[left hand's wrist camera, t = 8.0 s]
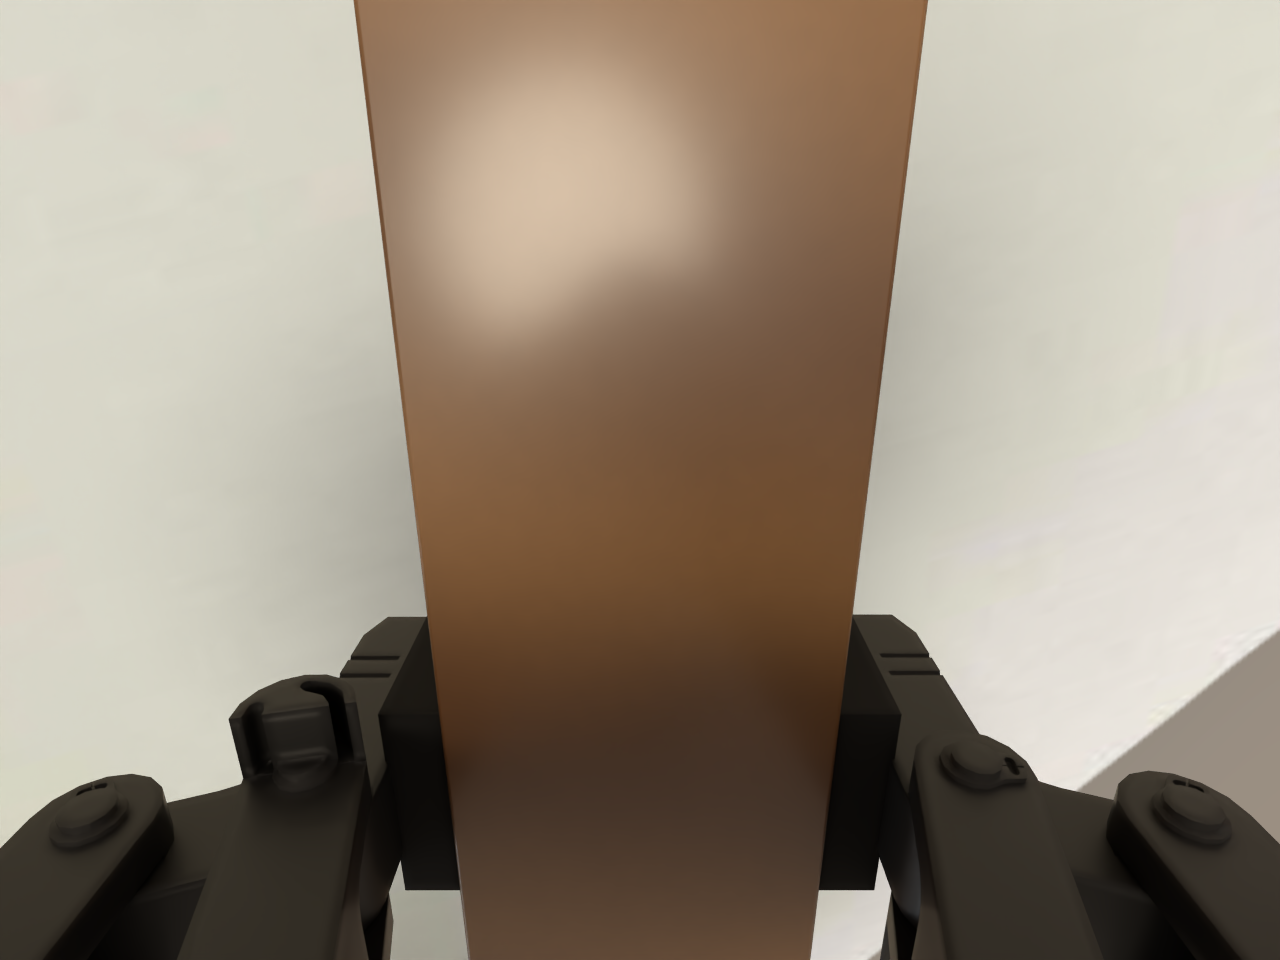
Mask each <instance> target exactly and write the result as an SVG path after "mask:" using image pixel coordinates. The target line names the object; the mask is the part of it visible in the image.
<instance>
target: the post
mask: <svg viewBox="0 0 1280 960" xmlns="http://www.w3.org/2000/svg"><path fill="white" fill-rule="evenodd" d="M927 4H928V0H354V8H355V16H356V25H357V33H358V41H359V50H360V58H361V66H362V75H363V83H364V91H365V100H366V108H367V116H368V125H369V133H370V141H371V150H372V158H373V166H374V175H375V183H376V191H377V200H378V208H379V216H380V225H381V233H382V241H383V250H384V258H385V266H386V275H387V283H388V292H389V300H390V308H391V317H392V325H393V333H394V342H395V350H396V358H397V367H398V375H399V383H400V392H401V400H402V408H403V417H404V425H405V433H406V442H407V450H408V458H409V467H410V475H411V483H412V492H413V500H414V508H415V517H416V525H417V533H418V542H419V550H420V558H421V567H422V575H423V584H424V592H425V600H426V609H427V617H428V625H429V634H430V642H431V650H432V659H433V667H434V675H435V684H436V692H437V700H438V709H439V717H440V725H441V734H442V742H443V750H444V759H445V767H446V775H447V784H448V792H449V800H450V809H451V817H452V825H453V834H454V842H455V850H456V859H457V867H458V875H459V884H460V892H461V900H462V909H463V917H464V926H465V934H466V942H467V951H468V959H469V960H810V957H811V949H812V940H813V932H814V924H815V916H816V908H817V900H818V892H819V883H820V875H821V867H822V859H823V851H824V843H825V835H826V826H827V818H828V810H829V802H830V794H831V786H832V778H833V770H834V761H835V753H836V745H837V737H838V729H839V721H840V713H841V704H842V696H843V688H844V680H845V672H846V664H847V656H848V647H849V639H850V631H851V623H852V615H853V607H854V599H855V590H856V582H857V574H858V566H859V558H860V550H861V542H862V533H863V525H864V517H865V509H866V501H867V493H868V485H869V476H870V468H871V460H872V452H873V444H874V436H875V428H876V420H877V411H878V403H879V395H880V387H881V379H882V371H883V363H884V354H885V346H886V338H887V330H888V322H889V314H890V306H891V297H892V289H893V281H894V273H895V265H896V257H897V249H898V240H899V232H900V224H901V216H902V208H903V200H904V192H905V183H906V175H907V167H908V159H909V151H910V143H911V135H912V127H913V118H914V110H915V102H916V94H917V86H918V78H919V70H920V61H921V53H922V45H923V37H924V29H925V21H926V13H927Z"/></svg>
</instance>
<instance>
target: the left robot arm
mask: <svg viewBox="0 0 1280 960" xmlns="http://www.w3.org/2000/svg"><path fill="white" fill-rule="evenodd" d="M229 723H230V727H231V731H232V735H233V739H234V743H235V747H236V751H237V755H238V759H239V763H240V767H241V771H242V775H243V781H242V783H241V784H240V785H237V786H234V787H231V788H227V789H224V790H221V791H217V792H213V793H208V794H204V795H200V796H195V797H191V798H187V799H182V800H178V801H174V802H169V803H167V802H166V799H165V795H164V792H163V789H162V787H161V786H160V785H159V784H158V783H157V782H156V781H155V780H153V779H152V778H151V777H146V776H141V775H135V774H127V775H118V776H110V777H105V778H102V779H99V780H96V781H93V782H90V783H87V784H84V785H81V786H79V787H77V788H75V789H73V790H71V791H69V792H67V793H66V794H64V795H62V796H60V797H58V798H56V799H54V800H52V801H51V802H50V803H49V804H47V805H46V806H45V807H44V808H42V809H41V810H40V811H39V812H37V813H36V814H35V815H34V816H33V817H31V818H30V819H29V820H28V821H27V822H26V823H25V824H24V825H23V826H22V827H21V828H20V829H19V830H18V831H17V832H16V833H15V834H14V835H13V836H12V837H11V838H10V839H9V840H8V841H7V842H6V843H5V844H4V845H3V846H2V847H1V848H0V960H390V953H391V942H392V931H393V916H392V909H391V903H390V897H389V890H390V888H391V885H392V882H393V879H394V876H395V874H396V871H397V868H398V865H399V862H400V860H401V865H402V872H403V878H404V884H405V890H460V884H459V875H458V867H457V859H456V850H455V842H454V834H453V825H452V817H451V809H450V800H449V792H448V784H447V775H446V767H445V759H444V750H443V742H442V734H441V725H440V717H439V709H438V700H437V692H436V684H435V675H434V667H433V659H432V650H431V642H430V634H429V625H428V617H387V618H386V619H385V620H383V621H382V622H381V623H379V624H378V625H377V626H375V627H374V628H373V629H371V630H370V631H369V632H367V633H366V634H365V635H364V636H363V637H362V639H361V641H360V642H359V644H358V645H357V647H356V649H355V650H354V652H353V653H352V655H351V660H348V661H347V663H346V665H345V666H344V668H343V669H342V671H341V673H340V678H337V677H333V676H330V675H303V676H298V677H294V678H290V679H285V680H281V681H279V682H276V683H274V684H272V685H270V686H267V687H265V688H263V689H260V690H258V691H257V692H255V693H254V694H253V695H251V696H250V697H249V698H247V699H246V700H244V701H243V702H242V703H240V704H239V706H238V707H237V708H236V710H235V711H234V712H233V714H232V715H231V717H230V718H229ZM879 857H880V860H881V863H882V866H883V868H884V871H885V874H886V877H887V880H888V882H889V885H890V888H891V897H890V903H889V909H888V915H887V920H886V926H885V932H884V938H883V944H882V950H881V957H880V960H1280V844H1279V843H1278V842H1277V841H1276V840H1275V839H1274V838H1273V837H1272V836H1271V835H1270V834H1269V833H1268V832H1267V831H1266V830H1265V829H1264V828H1263V827H1262V826H1261V825H1260V824H1259V823H1258V822H1257V821H1256V820H1255V819H1254V818H1253V817H1252V816H1251V815H1250V814H1248V813H1247V812H1246V811H1245V810H1243V809H1242V808H1241V807H1240V806H1238V805H1237V804H1236V803H1235V802H1233V801H1232V800H1231V799H1230V798H1228V797H1227V796H1225V795H1223V794H1221V793H1219V792H1217V791H1215V790H1213V789H1212V788H1210V787H1208V786H1206V785H1204V784H1202V783H1200V782H1197V781H1194V780H1191V779H1188V778H1185V777H1182V776H1179V775H1176V774H1171V773H1162V772H1154V771H1145V772H1139V773H1133V774H1129V775H1128V776H1127V777H1126V778H1124V779H1123V780H1122V781H1121V782H1120V783H1119V784H1118V787H1117V790H1116V794H1115V797H1114V800H1111V799H1106V798H1102V797H1098V796H1093V795H1089V794H1085V793H1080V792H1076V791H1072V790H1067V789H1063V788H1059V787H1056V786H1053V785H1049V784H1046V783H1043V782H1040V781H1038V779H1037V777H1036V776H1035V774H1034V772H1033V771H1032V769H1031V768H1030V766H1029V765H1028V763H1027V762H1026V761H1025V760H1024V759H1023V758H1022V757H1020V756H1019V755H1018V754H1017V753H1016V752H1014V751H1013V750H1012V749H1011V748H1010V747H1008V746H1006V745H1004V744H1002V743H1000V742H998V741H996V740H994V739H992V738H990V737H988V736H985V735H981V734H979V733H978V731H977V729H976V728H975V726H974V725H973V723H972V721H971V720H970V718H969V717H968V715H967V713H966V712H965V710H964V709H963V707H962V705H961V704H960V702H959V701H958V699H957V697H956V696H955V694H954V693H953V691H952V689H951V688H950V686H949V685H948V683H947V681H946V680H945V678H944V677H943V675H940V670H939V669H938V667H937V665H936V664H935V662H934V661H933V659H932V658H929V653H928V651H927V649H926V648H925V646H924V645H923V643H922V641H921V640H920V638H919V637H918V635H917V633H916V632H914V631H913V630H912V629H910V628H909V627H908V626H906V625H905V624H904V623H902V622H901V621H900V620H898V619H897V618H896V617H894V616H893V615H852V623H851V631H850V639H849V647H848V656H847V664H846V672H845V680H844V688H843V696H842V704H841V713H840V721H839V729H838V737H837V745H836V753H835V761H834V770H833V778H832V786H831V794H830V802H829V810H828V818H827V826H826V835H825V843H824V851H823V859H822V867H821V875H820V883H819V890H874V888H875V881H876V875H877V869H878V862H879Z"/></svg>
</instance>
